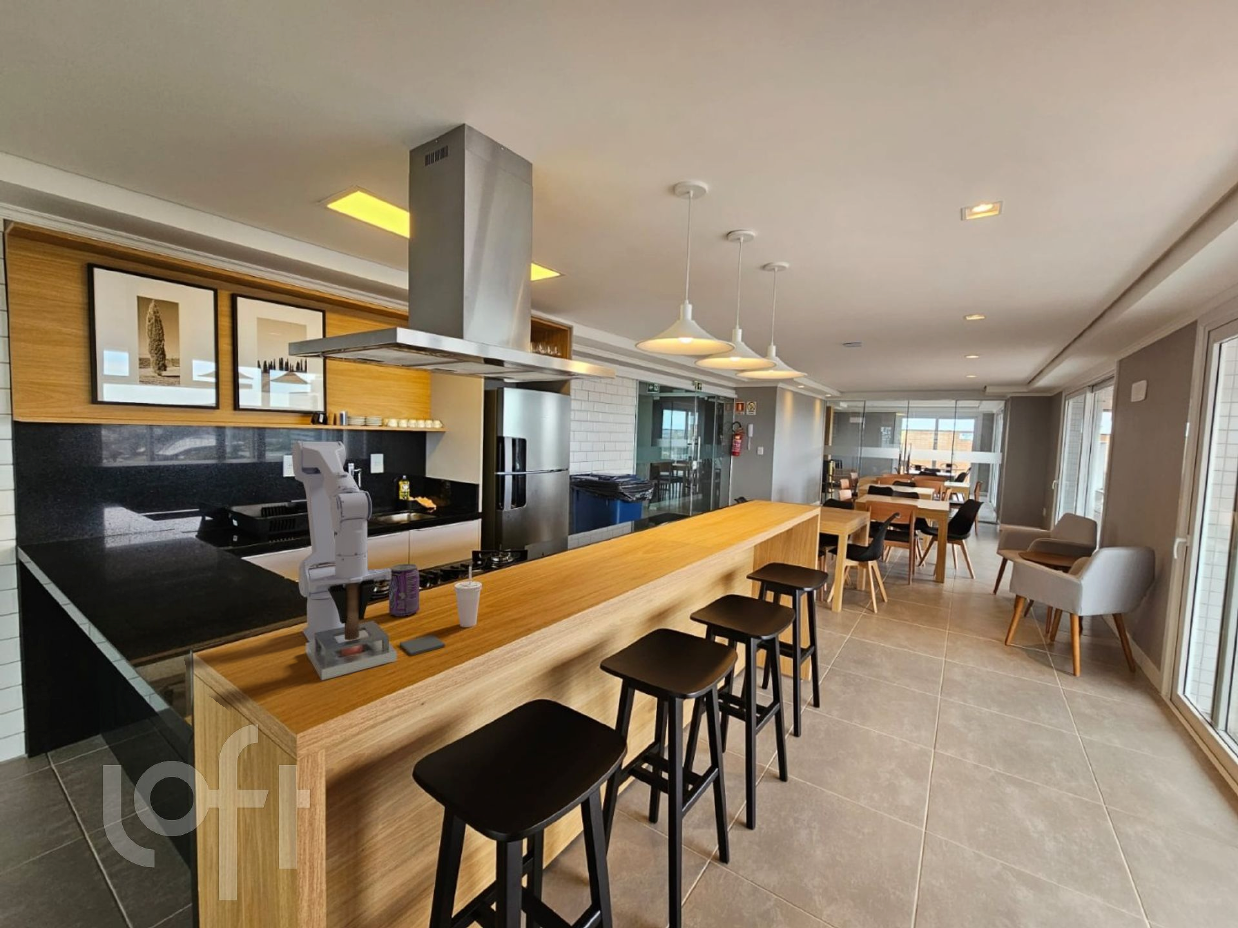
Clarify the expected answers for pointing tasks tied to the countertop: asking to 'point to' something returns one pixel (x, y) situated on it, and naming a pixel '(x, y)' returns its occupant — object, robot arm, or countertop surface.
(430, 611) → the countertop surface
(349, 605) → the walnut dowel
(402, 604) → the beverage can
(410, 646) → the rubber pad
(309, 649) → the box
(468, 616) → the smoothie
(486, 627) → the countertop surface
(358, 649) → the breaker plunger
